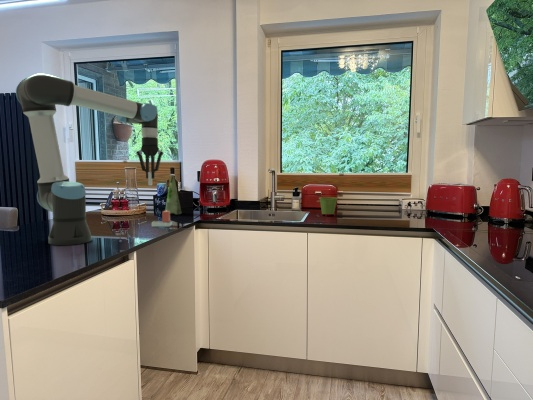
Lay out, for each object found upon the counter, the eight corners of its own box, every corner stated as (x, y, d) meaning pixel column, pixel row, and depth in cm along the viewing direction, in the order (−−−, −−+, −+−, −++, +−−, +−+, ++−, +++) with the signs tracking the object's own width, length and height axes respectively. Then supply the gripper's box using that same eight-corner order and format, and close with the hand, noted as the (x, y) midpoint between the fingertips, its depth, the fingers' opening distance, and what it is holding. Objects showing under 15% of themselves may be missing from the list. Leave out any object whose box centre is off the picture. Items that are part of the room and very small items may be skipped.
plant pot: (316, 214, 243) (316, 197, 242) (334, 214, 244) (334, 197, 243) (320, 217, 231) (321, 198, 230) (340, 217, 232) (340, 198, 231)
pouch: (174, 215, 228) (174, 174, 226) (158, 214, 233) (158, 173, 231) (185, 213, 238) (185, 173, 236) (170, 212, 243) (170, 173, 241)
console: (170, 226, 190) (170, 222, 190) (151, 226, 189) (151, 222, 189) (171, 225, 195) (171, 221, 194) (153, 225, 194) (153, 221, 194)
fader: (168, 222, 189) (168, 211, 189) (162, 222, 189) (162, 211, 189) (170, 220, 194) (170, 210, 194) (164, 220, 194) (164, 210, 194)
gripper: (164, 138, 191) (165, 185, 194) (138, 137, 190) (138, 184, 192) (162, 137, 184) (162, 185, 186) (134, 136, 183) (135, 185, 185)
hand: (150, 185), depth 189 cm, fingers closed
